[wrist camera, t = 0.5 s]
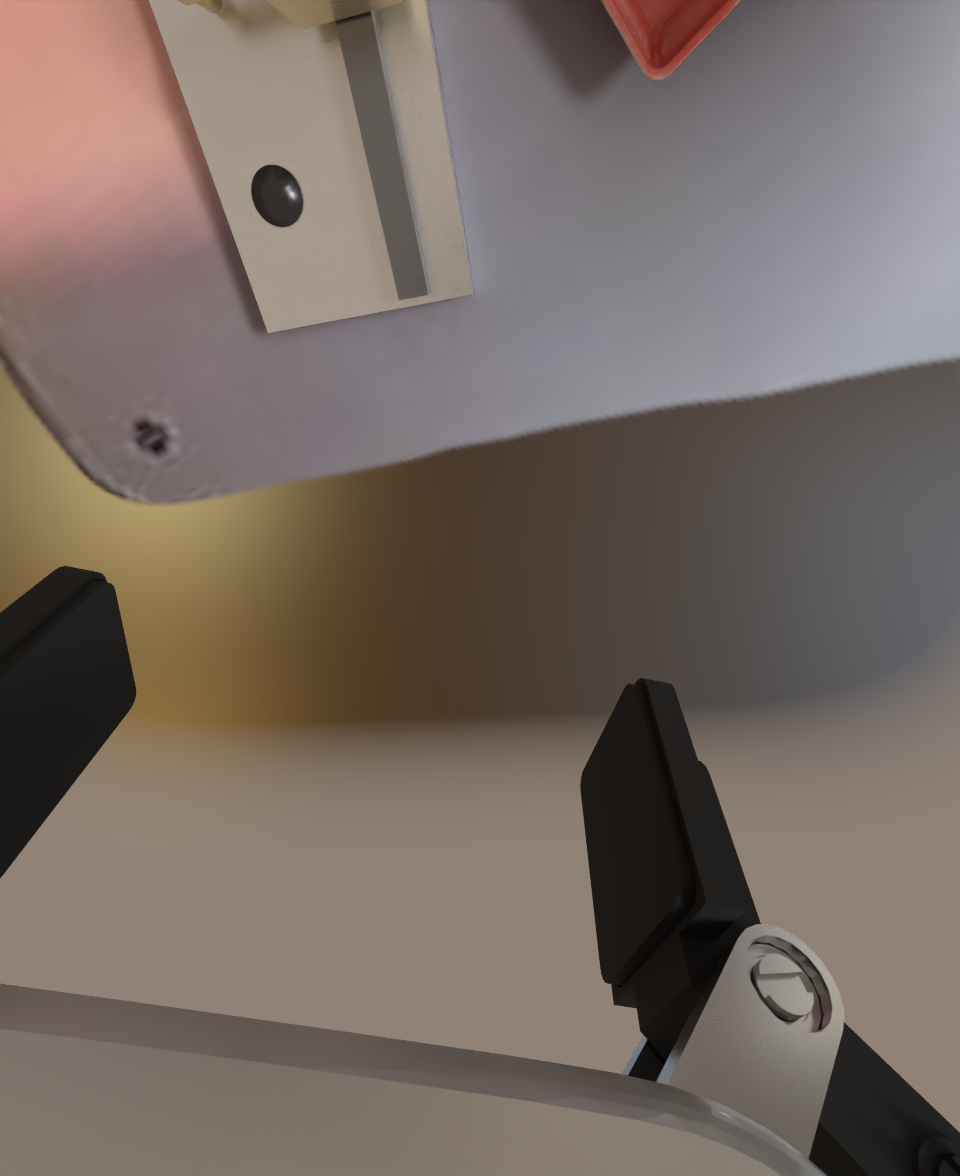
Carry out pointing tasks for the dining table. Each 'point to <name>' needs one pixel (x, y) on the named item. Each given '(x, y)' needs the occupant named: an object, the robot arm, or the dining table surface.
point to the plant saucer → (665, 29)
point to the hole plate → (325, 155)
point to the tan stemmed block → (310, 9)
